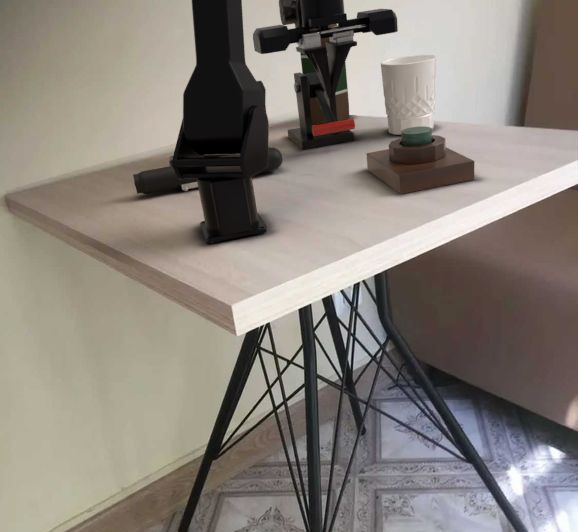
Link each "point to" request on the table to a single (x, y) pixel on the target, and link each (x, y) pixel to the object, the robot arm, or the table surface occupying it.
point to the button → (416, 136)
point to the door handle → (168, 179)
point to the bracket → (304, 133)
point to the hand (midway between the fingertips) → (330, 98)
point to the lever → (325, 109)
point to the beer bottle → (341, 91)
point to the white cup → (409, 91)
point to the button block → (420, 166)
